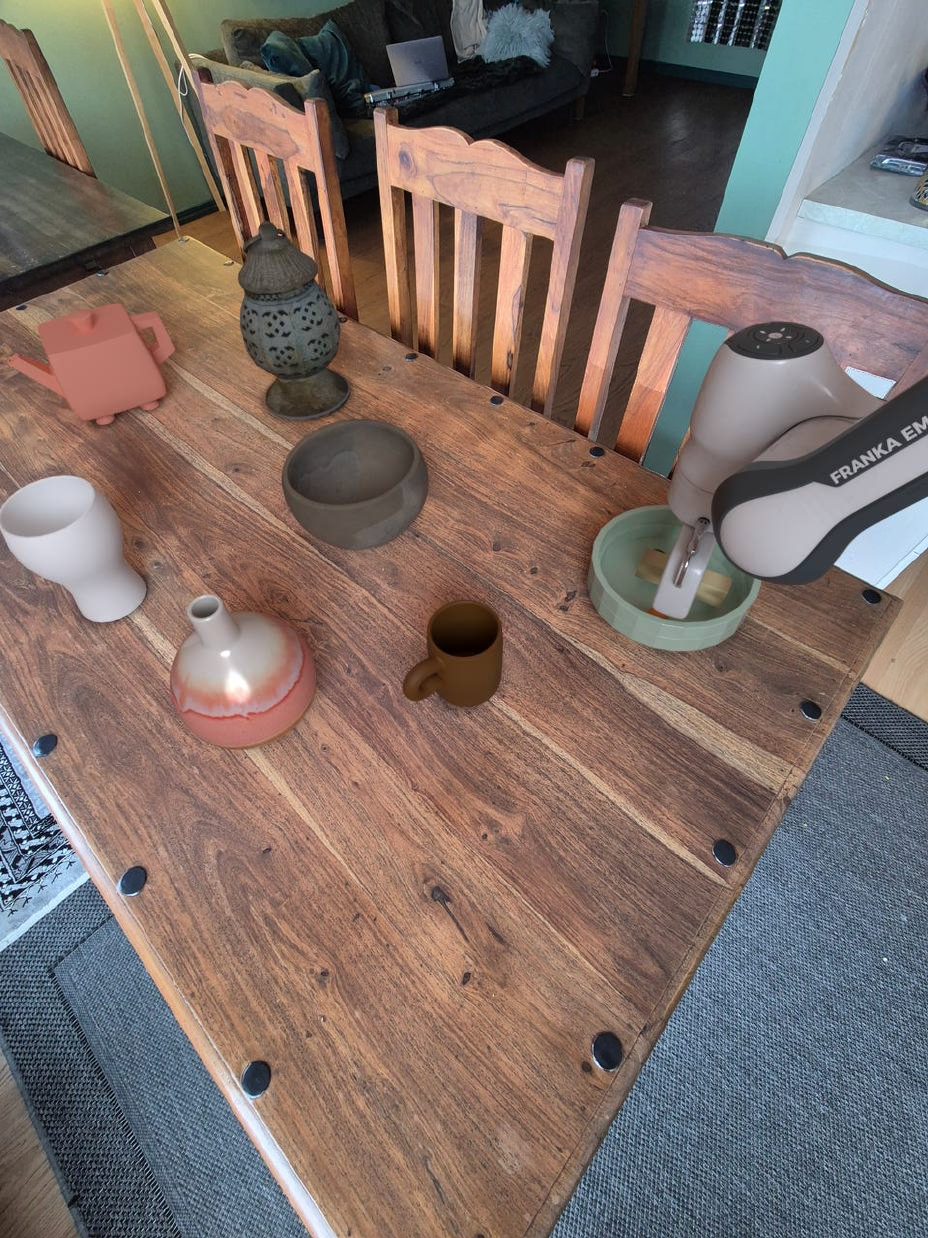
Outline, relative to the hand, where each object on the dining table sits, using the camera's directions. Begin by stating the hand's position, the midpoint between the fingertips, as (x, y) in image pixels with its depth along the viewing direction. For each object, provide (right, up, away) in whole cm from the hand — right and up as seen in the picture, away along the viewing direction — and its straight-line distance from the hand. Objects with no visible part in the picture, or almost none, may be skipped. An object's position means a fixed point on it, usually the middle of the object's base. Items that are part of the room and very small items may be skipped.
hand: (681, 581), depth 74 cm
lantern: (-50, +32, +29) cm, 66 cm away
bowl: (-38, +9, +11) cm, 41 cm away
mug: (-26, -12, -5) cm, 29 cm away
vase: (-47, -14, -6) cm, 49 cm away
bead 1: (-3, +2, +4) cm, 5 cm away
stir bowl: (-1, -1, +3) cm, 3 cm away
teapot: (-80, +30, +29) cm, 91 cm away
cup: (-68, -2, +4) cm, 68 cm away
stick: (0, 0, 0) cm, 1 cm away
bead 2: (-5, -4, -2) cm, 6 cm away
